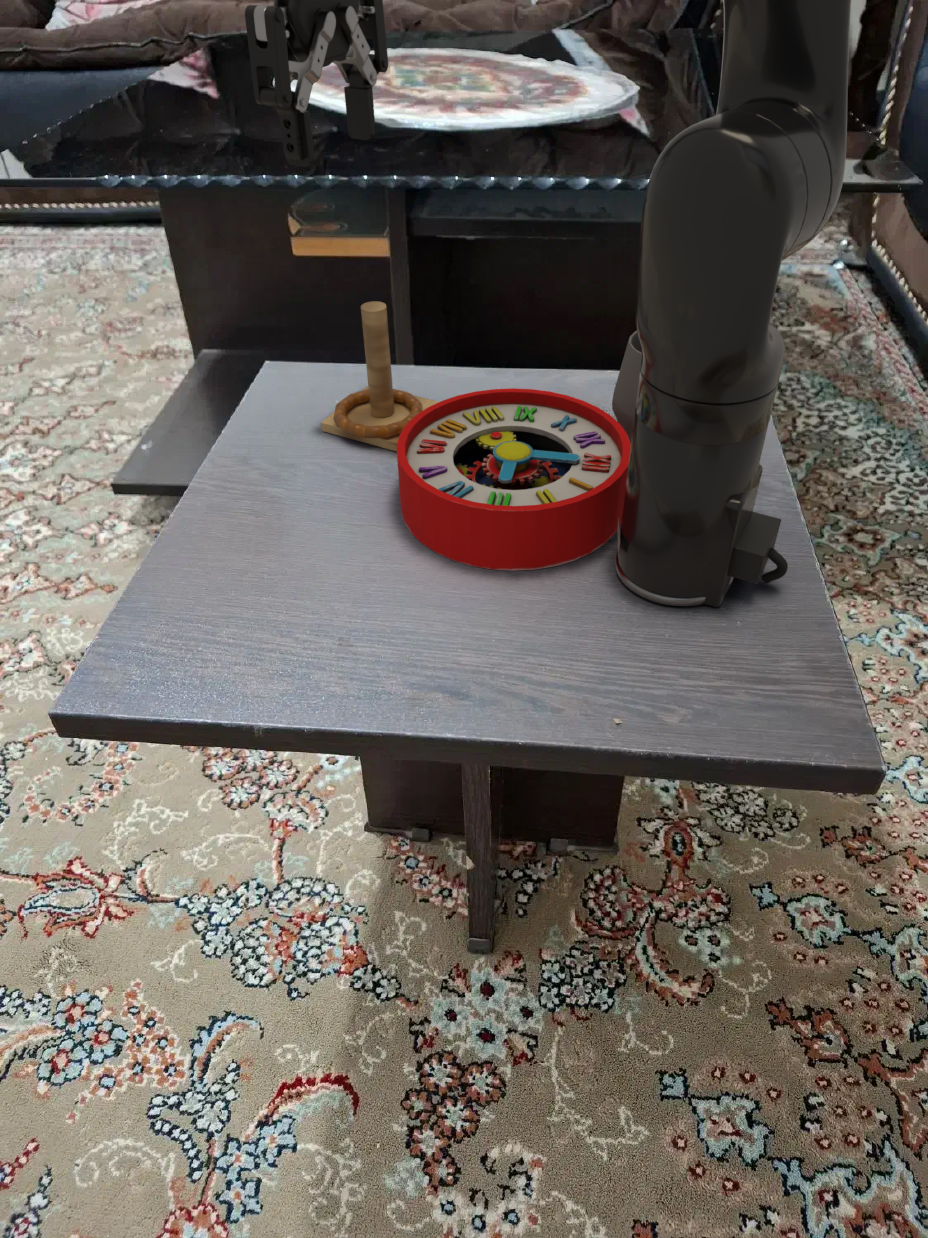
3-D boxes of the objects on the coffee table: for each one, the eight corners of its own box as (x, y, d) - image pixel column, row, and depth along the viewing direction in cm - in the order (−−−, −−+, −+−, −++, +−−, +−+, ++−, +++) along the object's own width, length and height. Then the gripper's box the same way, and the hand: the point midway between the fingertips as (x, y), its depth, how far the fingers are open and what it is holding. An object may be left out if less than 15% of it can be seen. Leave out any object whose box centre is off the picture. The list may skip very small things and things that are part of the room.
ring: (438, 408, 91) (438, 397, 90) (391, 448, 85) (391, 437, 85) (367, 389, 94) (366, 379, 94) (317, 427, 89) (315, 416, 88)
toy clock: (426, 380, 85) (638, 397, 82) (429, 434, 89) (631, 452, 86) (368, 497, 71) (623, 523, 67) (374, 556, 75) (615, 583, 71)
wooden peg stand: (443, 411, 93) (439, 296, 85) (398, 452, 87) (389, 333, 79) (370, 392, 96) (359, 281, 88) (321, 431, 90) (305, 315, 82)
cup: (697, 415, 91) (713, 320, 84) (714, 464, 84) (733, 365, 78) (603, 415, 91) (612, 320, 85) (613, 464, 84) (624, 365, 78)
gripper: (287, -103, 55) (320, 181, 65) (407, -117, 64) (418, 134, 75) (192, -105, 57) (239, 169, 68) (320, -117, 67) (343, 125, 77)
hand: (333, 150), depth 71 cm, fingers open, 8 cm apart
